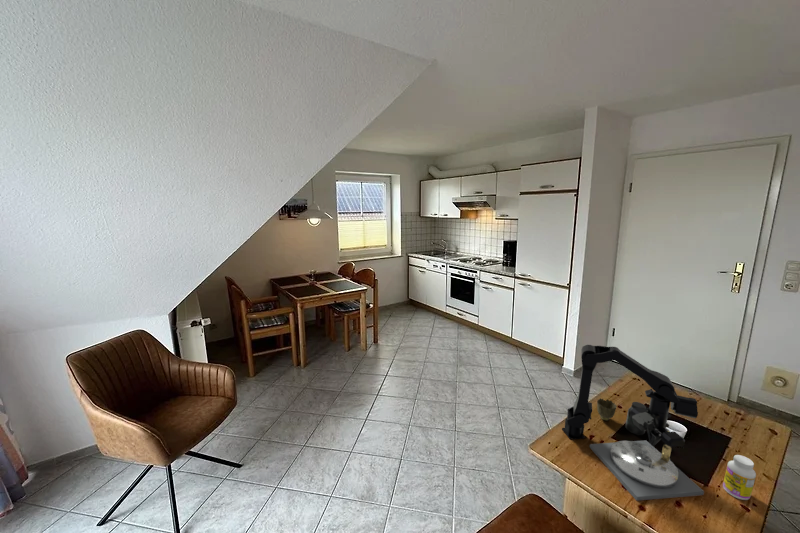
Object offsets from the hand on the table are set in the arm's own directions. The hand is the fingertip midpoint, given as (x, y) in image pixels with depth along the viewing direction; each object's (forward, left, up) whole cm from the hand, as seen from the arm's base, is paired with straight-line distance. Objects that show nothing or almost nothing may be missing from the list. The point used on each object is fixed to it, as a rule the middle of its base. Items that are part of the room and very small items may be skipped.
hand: (652, 445), depth 127 cm
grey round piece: (-8, -6, -3) cm, 10 cm away
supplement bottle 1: (+6, +14, -5) cm, 16 cm away
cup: (-2, +22, -5) cm, 23 cm away
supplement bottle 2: (+16, -18, -5) cm, 24 cm away
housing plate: (-8, -6, -5) cm, 11 cm away
